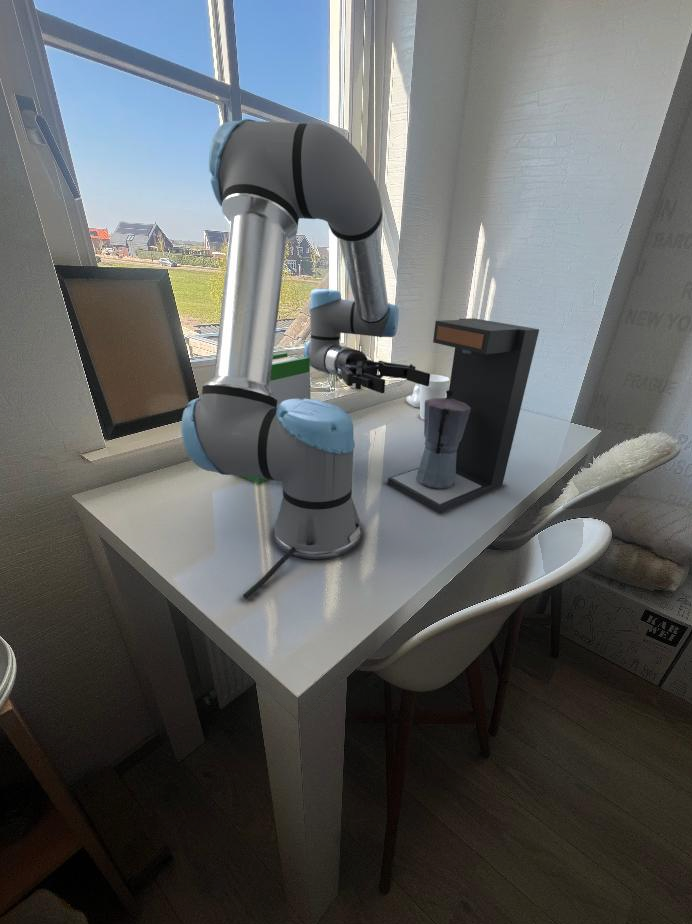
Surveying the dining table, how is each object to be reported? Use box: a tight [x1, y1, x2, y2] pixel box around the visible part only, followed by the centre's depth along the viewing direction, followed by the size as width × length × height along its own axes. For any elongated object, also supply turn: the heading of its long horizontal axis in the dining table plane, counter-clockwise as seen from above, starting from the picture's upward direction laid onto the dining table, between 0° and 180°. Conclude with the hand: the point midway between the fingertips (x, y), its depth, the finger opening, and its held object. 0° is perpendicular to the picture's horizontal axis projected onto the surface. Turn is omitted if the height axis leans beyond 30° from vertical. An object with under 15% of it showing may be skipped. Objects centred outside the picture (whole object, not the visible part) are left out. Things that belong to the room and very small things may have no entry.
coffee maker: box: [387, 317, 540, 514], centre depth 88 cm, size 22×16×34 cm
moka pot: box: [416, 389, 471, 488], centre depth 88 cm, size 10×15×20 cm, turn 170°
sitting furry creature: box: [405, 370, 424, 409], centre depth 147 cm, size 10×9×12 cm
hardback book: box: [240, 352, 311, 484], centre depth 93 cm, size 18×7×24 cm, turn 148°
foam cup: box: [419, 373, 450, 420], centre depth 135 cm, size 10×9×13 cm
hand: (407, 383), depth 91 cm, fingers open, 13 cm apart
